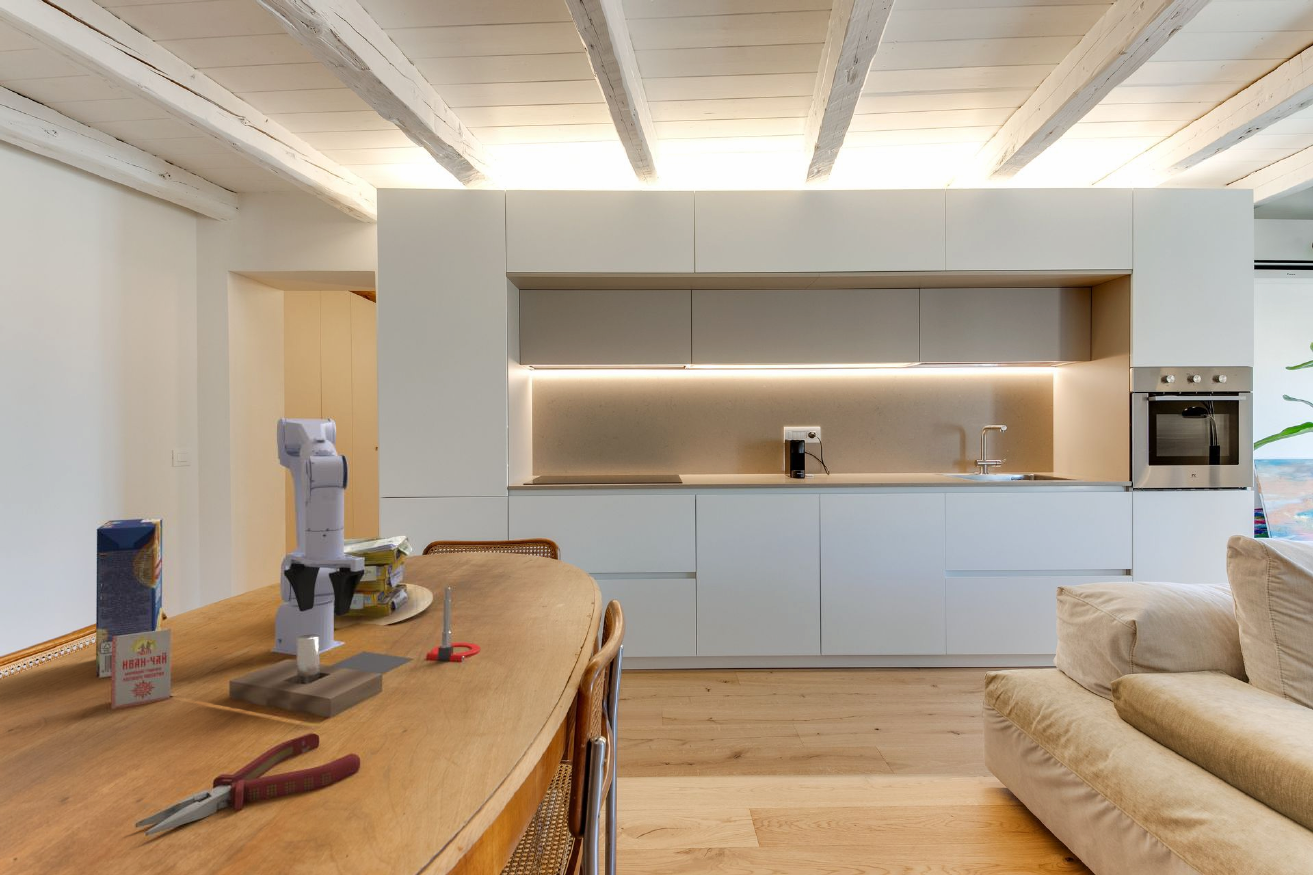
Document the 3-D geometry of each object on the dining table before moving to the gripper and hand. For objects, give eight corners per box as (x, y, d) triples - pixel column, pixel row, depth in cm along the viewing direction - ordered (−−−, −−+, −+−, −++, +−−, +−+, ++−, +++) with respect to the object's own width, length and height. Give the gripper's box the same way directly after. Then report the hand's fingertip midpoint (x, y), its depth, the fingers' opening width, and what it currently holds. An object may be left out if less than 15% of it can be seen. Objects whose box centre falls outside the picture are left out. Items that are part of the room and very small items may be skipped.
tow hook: (444, 647, 124) (420, 661, 115) (447, 578, 124) (423, 587, 115) (487, 650, 123) (466, 665, 114) (489, 580, 123) (468, 589, 114)
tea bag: (113, 701, 97) (113, 633, 97) (170, 690, 101) (170, 625, 101) (111, 709, 94) (111, 640, 94) (170, 698, 98) (170, 632, 98)
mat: (314, 674, 108) (314, 672, 108) (363, 653, 118) (363, 651, 118) (367, 683, 105) (367, 680, 105) (414, 660, 115) (414, 658, 115)
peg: (292, 699, 98) (291, 639, 98) (308, 691, 101) (307, 633, 101) (308, 701, 97) (307, 641, 97) (324, 693, 100) (323, 635, 100)
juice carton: (154, 669, 110) (155, 526, 109) (95, 678, 106) (96, 529, 105) (161, 649, 120) (162, 517, 120) (108, 656, 116) (109, 520, 116)
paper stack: (391, 633, 131) (391, 549, 131) (282, 624, 136) (283, 544, 136) (452, 602, 155) (453, 531, 155) (358, 596, 160) (359, 527, 160)
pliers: (119, 821, 68) (119, 796, 68) (314, 747, 84) (314, 727, 84) (162, 864, 61) (163, 836, 61) (364, 774, 78) (364, 752, 78)
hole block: (229, 701, 97) (229, 680, 97) (287, 677, 107) (287, 659, 107) (330, 720, 91) (330, 698, 91) (382, 693, 101) (382, 673, 101)
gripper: (269, 530, 106) (269, 613, 106) (340, 534, 102) (340, 622, 102) (305, 524, 113) (305, 603, 113) (373, 528, 108) (373, 611, 108)
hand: (324, 611), depth 108 cm, fingers open, 7 cm apart
